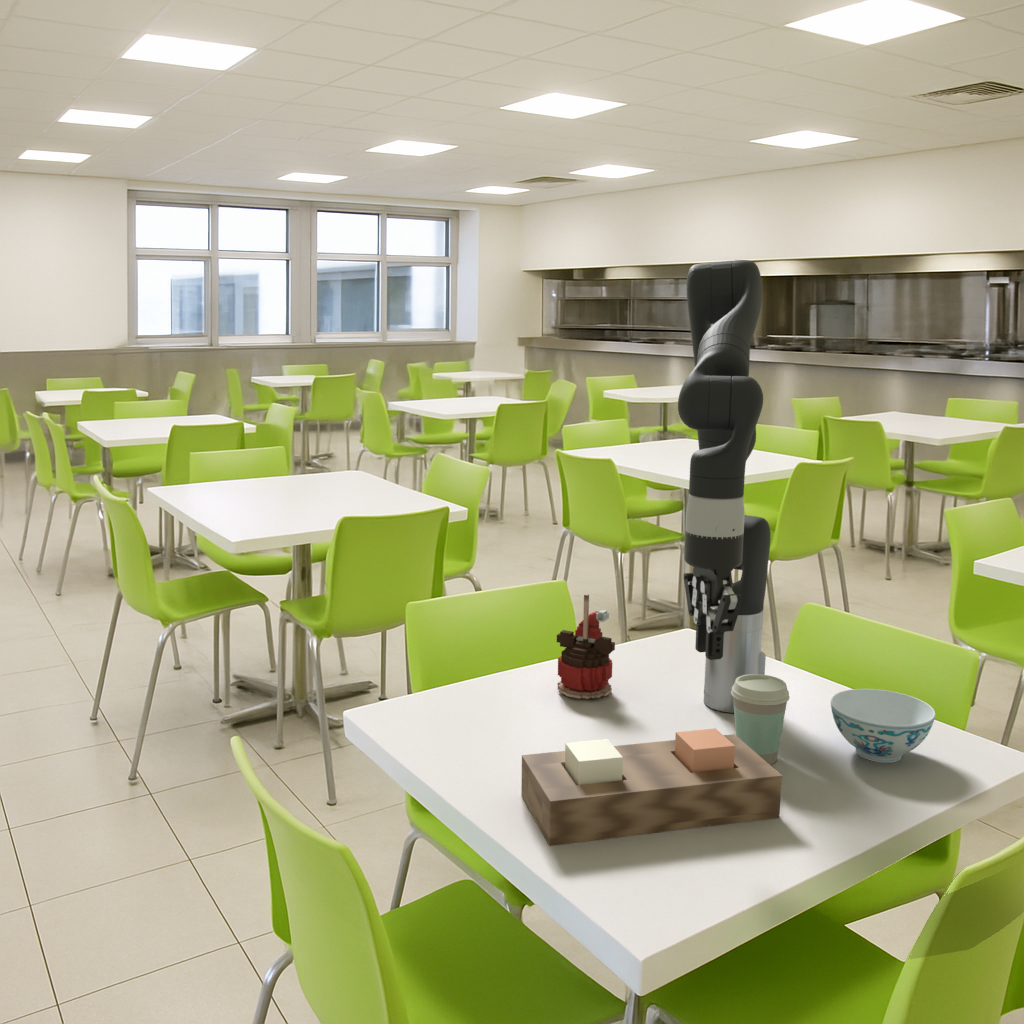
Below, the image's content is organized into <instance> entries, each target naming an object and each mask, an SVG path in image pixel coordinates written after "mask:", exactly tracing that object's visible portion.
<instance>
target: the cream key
mask: <svg viewBox="0 0 1024 1024" xmlns="http://www.w3.org/2000/svg"><path fill="white" fill-rule="evenodd" d="M564 745H565V747H564V751H565V770H566V771H567V773H568V774H569V776H570V777H571V779H572V780H573V782H574V783H575V784H576V785H583V784H593V783H602V782H611V781H620V780H622V767H623V757H622V756H621V754H620V753H619V752H618V751H617V750H616V748H615V747H614V746H615V745H613V744H612V743H611V741H610V740H609V739H608V738H603V739H591V740H584V741H574V742H565V743H564Z"/></svg>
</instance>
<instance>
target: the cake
mask: <svg viewBox="0 0 1024 1024" xmlns="http://www.w3.org/2000/svg"><path fill="white" fill-rule="evenodd" d="M589 609H590V594H588V593H585V594H583V619H582V621H580V622H579V623H578V626H577V627H576V629H575V630H574V631H573V630H565V629H563V630H561V631H560V632H559V633H557V634H556V643H559V647H562V648H564V649H563V650H561V654H560V656H559V657H558V658H557V676H559V678H560V681H558V682H557V690H558V691H559V692H560V693H561V694H564V695H565V696H566V697H571V698H574V699H575V698H576V699H584V698H585V699H588V700H589V699H595V698H597V699H598V698H601V697H606V696H607V695H609V694H610V693H611V692H612V690H613V689H612V684H610V682H609V680H611V678H612V677H613V660H612V659H611V658H610V654H611V653H612V652H614V651H615V650H616V642H614V641H612V638H611V637H606V636H603V631H602V630H601V629H602V628H600V622H601V623H604V622H606V621H607V620H608V619H609V618H610V612H608V610H606V609H600V610H599V611H596V610H595V611H594V612H591V613H590V614H589V612H590V611H589Z"/></svg>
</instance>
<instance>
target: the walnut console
mask: <svg viewBox="0 0 1024 1024" xmlns="http://www.w3.org/2000/svg"><path fill="white" fill-rule="evenodd" d="M723 735H724V736H725V737H726V738H727V739H728V740H729V741H730V742H731V743H733V744H734V745H735V754H734V768H731V769H722V770H713V771H704V772H694V773H690V772H689V770H688V769H687V768H686V767H685V766H684V765H683V764H682V763H681V762H680V761H679V760H678V759H677V758H676V757H675V739H672V740H661V741H650V742H642V743H631V744H630V743H629V744H621V745H620V744H619V745H613V746H614V747H615V748H616V750H617V751H618V752H619V753H620V754H621V756H622V757H623V767H622V780H620V781H611V782H602V783H593V784H583V785H576V784H575V783H574V782H573V780H572V779H571V777H570V776H569V774H568V773H567V771H566V770H565V750H561V751H559V750H558V751H551V752H540V753H532V754H522V755H521V797H522V799H523V802H525V805H526V806H527V808H528V810H529V812H530V814H531V815H532V817H533V819H534V821H535V822H536V824H537V825H538V828H539V830H540V831H541V833H542V835H543V837H544V836H545V837H544V838H545V840H546V842H547V844H548V846H549V845H550V846H556V845H557V846H559V845H565V844H574V843H581V842H588V841H589V842H590V841H598V840H604V839H605V840H607V839H614V838H621V837H622V838H623V837H630V836H631V837H632V836H638V835H639V836H640V835H646V834H656V833H663V832H670V831H680V830H689V829H696V828H705V827H711V826H720V825H721V826H722V825H729V824H736V823H745V822H752V821H761V820H769V819H770V818H771V819H777V818H780V817H781V816H780V812H781V803H782V802H781V801H782V799H781V797H782V782H783V775H782V774H781V773H780V772H778V770H776V768H774V767H773V766H772V764H770V765H769V764H768V763H767V762H766V761H765V760H764V759H762V758H761V757H760V756H759V755H758V754H757V753H756V752H754V751H753V750H752V749H751V748H750V747H749V746H747V745H746V744H745V743H744V742H743V741H742V740H740V739H739V738H738V737H737V736H736V733H731V734H723Z"/></svg>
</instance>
